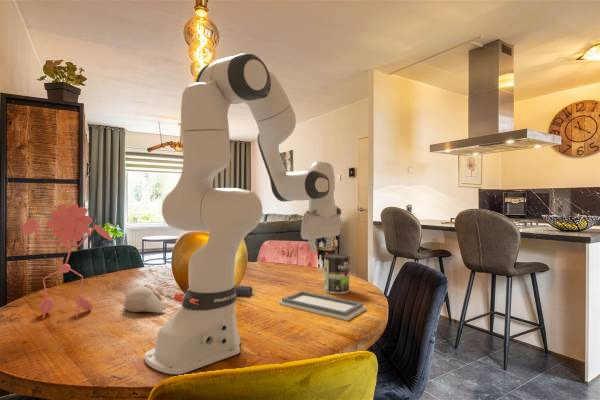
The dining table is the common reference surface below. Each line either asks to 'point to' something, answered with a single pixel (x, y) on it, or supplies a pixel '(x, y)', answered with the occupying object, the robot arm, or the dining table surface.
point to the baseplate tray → (324, 305)
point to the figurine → (66, 227)
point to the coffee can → (336, 273)
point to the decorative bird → (143, 300)
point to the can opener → (243, 290)
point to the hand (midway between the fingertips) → (321, 250)
